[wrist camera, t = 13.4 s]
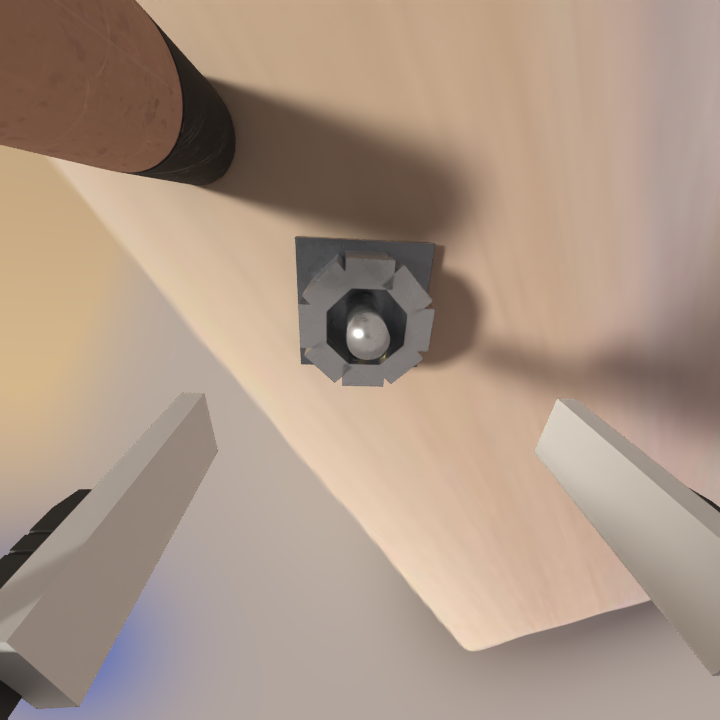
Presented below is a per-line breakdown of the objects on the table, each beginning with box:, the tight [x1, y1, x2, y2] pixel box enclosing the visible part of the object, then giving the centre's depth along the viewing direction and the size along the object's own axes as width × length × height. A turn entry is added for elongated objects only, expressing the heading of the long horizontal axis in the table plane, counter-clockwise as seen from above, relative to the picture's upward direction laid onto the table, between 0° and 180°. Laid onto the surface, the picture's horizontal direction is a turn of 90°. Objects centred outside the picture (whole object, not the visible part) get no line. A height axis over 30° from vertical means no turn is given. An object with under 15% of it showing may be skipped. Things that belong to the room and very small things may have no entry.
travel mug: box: [0, 0, 235, 185], centre depth 13 cm, size 8×8×20 cm
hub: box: [298, 250, 435, 387], centre depth 24 cm, size 10×10×6 cm
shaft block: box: [295, 236, 435, 367], centre depth 24 cm, size 12×12×10 cm
